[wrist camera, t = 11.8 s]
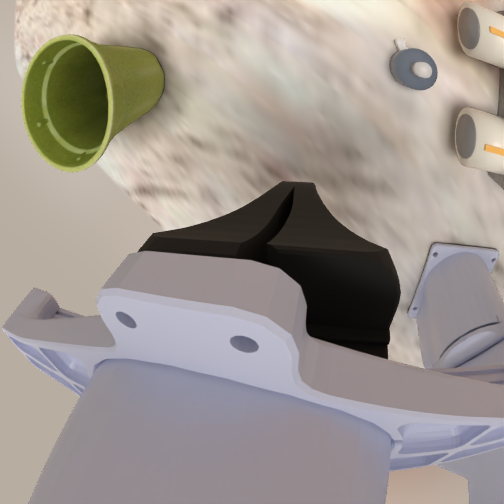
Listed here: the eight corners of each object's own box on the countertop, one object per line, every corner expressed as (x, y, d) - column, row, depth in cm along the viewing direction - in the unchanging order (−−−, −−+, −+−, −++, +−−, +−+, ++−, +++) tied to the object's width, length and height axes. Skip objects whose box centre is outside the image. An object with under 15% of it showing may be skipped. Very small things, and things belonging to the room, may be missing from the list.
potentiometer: (431, 83, 14) (450, 89, 12) (397, 90, 16) (411, 96, 13) (415, 36, 13) (432, 32, 10) (379, 43, 14) (390, 39, 11)
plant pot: (169, 146, 23) (105, 192, 16) (89, 119, 22) (21, 153, 16) (198, 41, 17) (127, 39, 10) (105, 27, 16) (27, 35, 10)
